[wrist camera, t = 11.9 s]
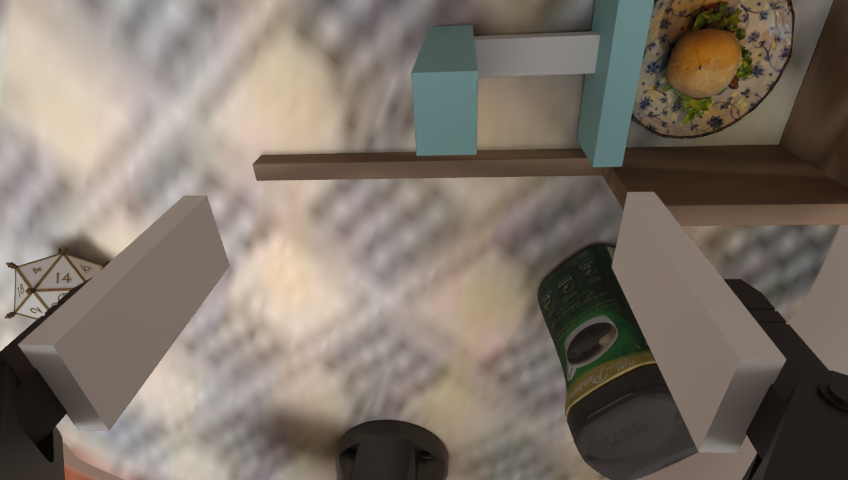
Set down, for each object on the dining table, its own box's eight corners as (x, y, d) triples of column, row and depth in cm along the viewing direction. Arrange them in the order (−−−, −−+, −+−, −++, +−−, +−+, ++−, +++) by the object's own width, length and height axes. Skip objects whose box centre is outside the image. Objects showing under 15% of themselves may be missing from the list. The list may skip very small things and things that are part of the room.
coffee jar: (575, 329, 49) (628, 508, 33) (523, 288, 47) (554, 461, 31) (654, 275, 45) (757, 453, 29) (602, 228, 42) (683, 394, 27)
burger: (690, 157, 38) (735, 199, 32) (577, 85, 36) (601, 115, 30) (822, 19, 32) (908, 37, 26) (696, -79, 30) (758, -84, 24)
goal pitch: (791, 161, 38) (886, 224, 29) (265, 171, 42) (215, 228, 33) (912, -136, 27) (1110, -171, 19) (199, -88, 31) (103, -99, 23)
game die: (102, 231, 51) (41, 224, 41) (149, 292, 51) (99, 298, 42) (30, 279, 50) (-51, 283, 40) (78, 341, 50) (10, 360, 40)
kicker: (602, 139, 37) (673, 238, 25) (435, 142, 38) (421, 239, 26) (636, -70, 30) (763, -79, 17) (427, -57, 31) (403, -58, 18)
